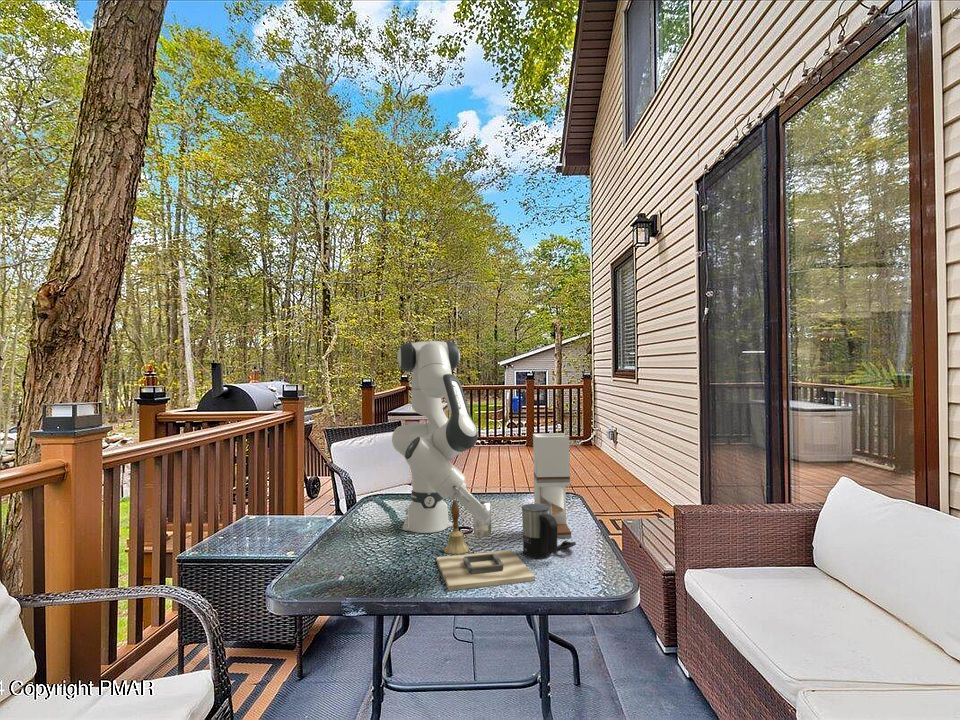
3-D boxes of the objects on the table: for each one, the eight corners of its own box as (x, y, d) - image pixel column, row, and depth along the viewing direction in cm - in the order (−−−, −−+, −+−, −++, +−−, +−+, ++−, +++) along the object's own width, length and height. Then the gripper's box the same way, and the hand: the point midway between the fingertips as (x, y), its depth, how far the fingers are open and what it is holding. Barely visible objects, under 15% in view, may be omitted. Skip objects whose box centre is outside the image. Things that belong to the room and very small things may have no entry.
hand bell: (449, 556, 156) (448, 505, 157) (439, 548, 164) (439, 499, 164) (473, 552, 160) (472, 502, 160) (463, 544, 167) (462, 496, 168)
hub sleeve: (472, 532, 146) (471, 501, 147) (488, 530, 147) (488, 500, 148) (476, 537, 141) (475, 505, 142) (493, 535, 143) (492, 503, 143)
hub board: (436, 561, 152) (436, 552, 152) (511, 553, 158) (511, 544, 158) (448, 590, 131) (448, 580, 131) (535, 580, 136) (534, 570, 136)
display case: (538, 538, 172) (536, 437, 173) (534, 529, 182) (532, 433, 184) (571, 538, 172) (569, 436, 173) (566, 529, 182) (563, 433, 184)
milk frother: (516, 554, 157) (515, 507, 157) (544, 541, 168) (543, 497, 169) (554, 565, 147) (553, 514, 148) (581, 551, 159) (580, 504, 160)
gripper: (465, 482, 133) (501, 516, 135) (451, 469, 153) (483, 499, 155) (449, 500, 132) (485, 534, 134) (437, 485, 152) (469, 514, 154)
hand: (484, 515), depth 145 cm, fingers closed on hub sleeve, 5 cm apart
